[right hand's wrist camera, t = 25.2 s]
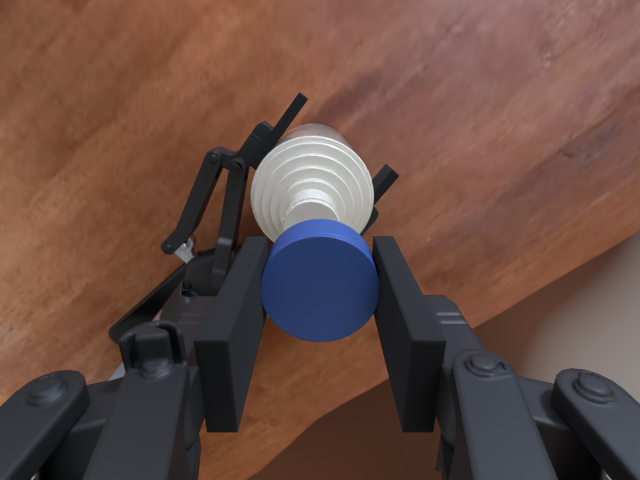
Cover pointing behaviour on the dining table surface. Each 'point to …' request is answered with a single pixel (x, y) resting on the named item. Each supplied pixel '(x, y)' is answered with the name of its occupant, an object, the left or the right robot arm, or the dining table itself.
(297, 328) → the cap
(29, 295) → the dining table surface
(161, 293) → the smartphone
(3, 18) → the dining table surface
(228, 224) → the left robot arm
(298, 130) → the bottle
